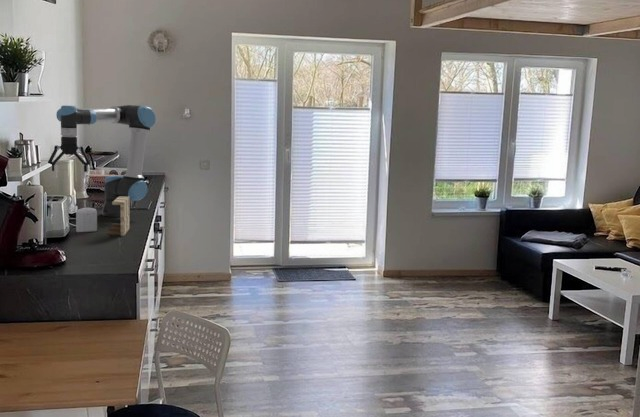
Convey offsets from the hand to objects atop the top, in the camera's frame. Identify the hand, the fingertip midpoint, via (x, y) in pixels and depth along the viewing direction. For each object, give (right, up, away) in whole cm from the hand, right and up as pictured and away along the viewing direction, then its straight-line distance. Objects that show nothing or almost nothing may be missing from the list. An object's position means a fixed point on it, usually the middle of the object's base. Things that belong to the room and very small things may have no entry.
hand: (69, 177), depth 319 cm
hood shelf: (+23, -28, +4) cm, 37 cm away
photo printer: (+8, -28, +2) cm, 29 cm away
